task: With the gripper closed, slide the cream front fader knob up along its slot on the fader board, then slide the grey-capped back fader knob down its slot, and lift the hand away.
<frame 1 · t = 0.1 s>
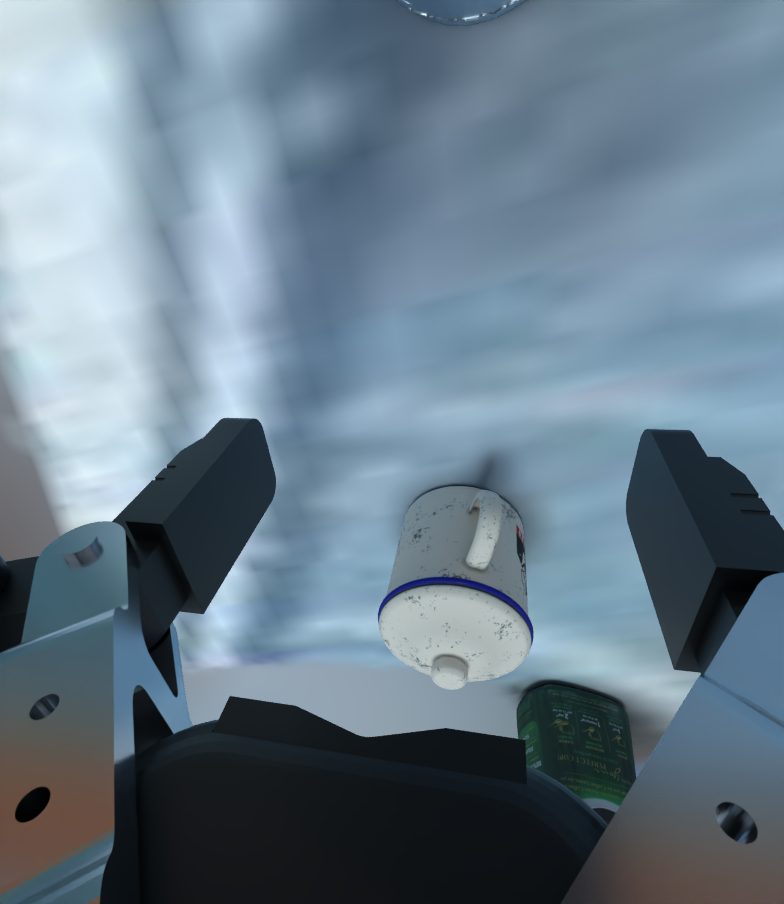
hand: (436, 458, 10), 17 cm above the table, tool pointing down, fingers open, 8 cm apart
coffee jar: (569, 704, 46), on the table
teacup with lid: (468, 513, 34), on the table
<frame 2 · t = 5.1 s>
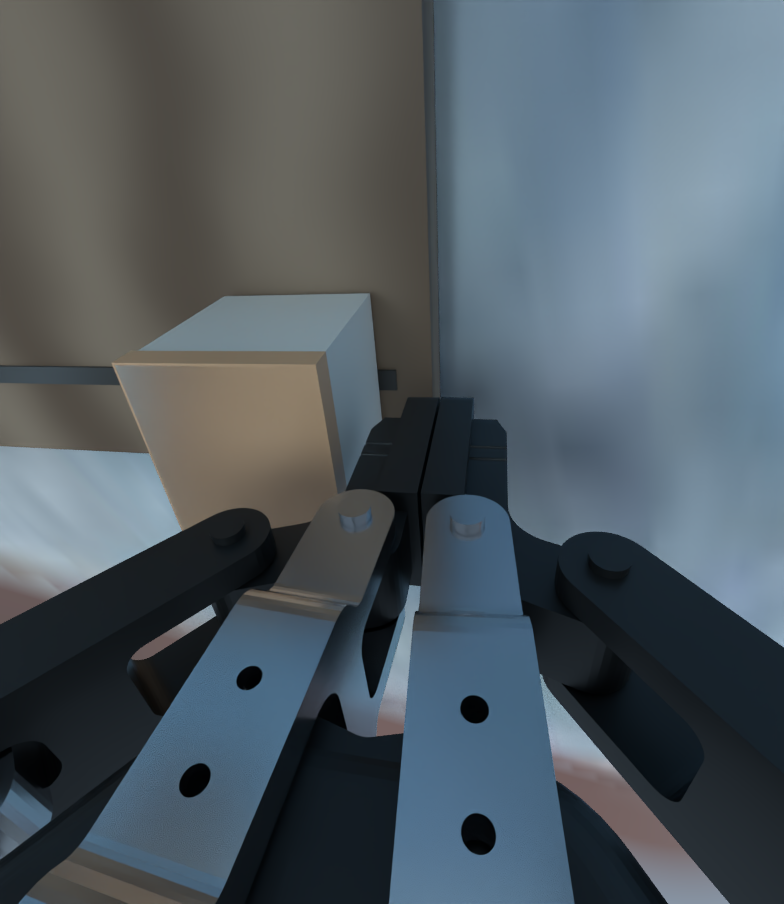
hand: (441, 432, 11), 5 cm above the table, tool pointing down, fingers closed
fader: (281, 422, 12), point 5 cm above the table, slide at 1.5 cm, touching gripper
fader board: (24, 156, 14), on the table
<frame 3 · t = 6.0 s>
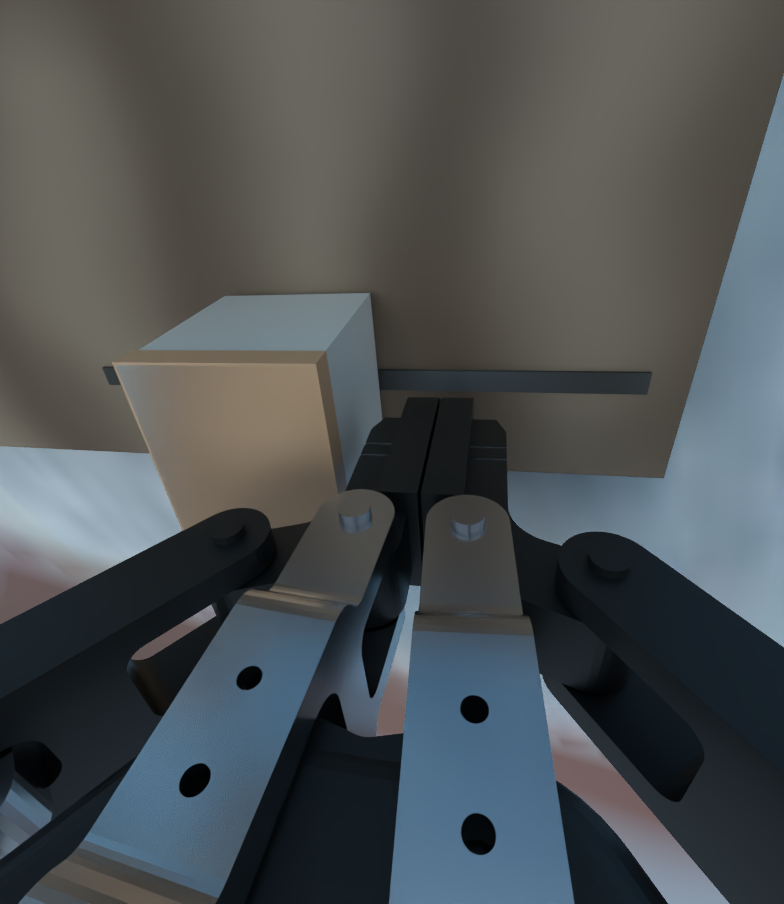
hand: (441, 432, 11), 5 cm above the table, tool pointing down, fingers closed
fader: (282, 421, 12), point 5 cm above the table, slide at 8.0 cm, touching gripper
fader board: (231, 137, 13), on the table
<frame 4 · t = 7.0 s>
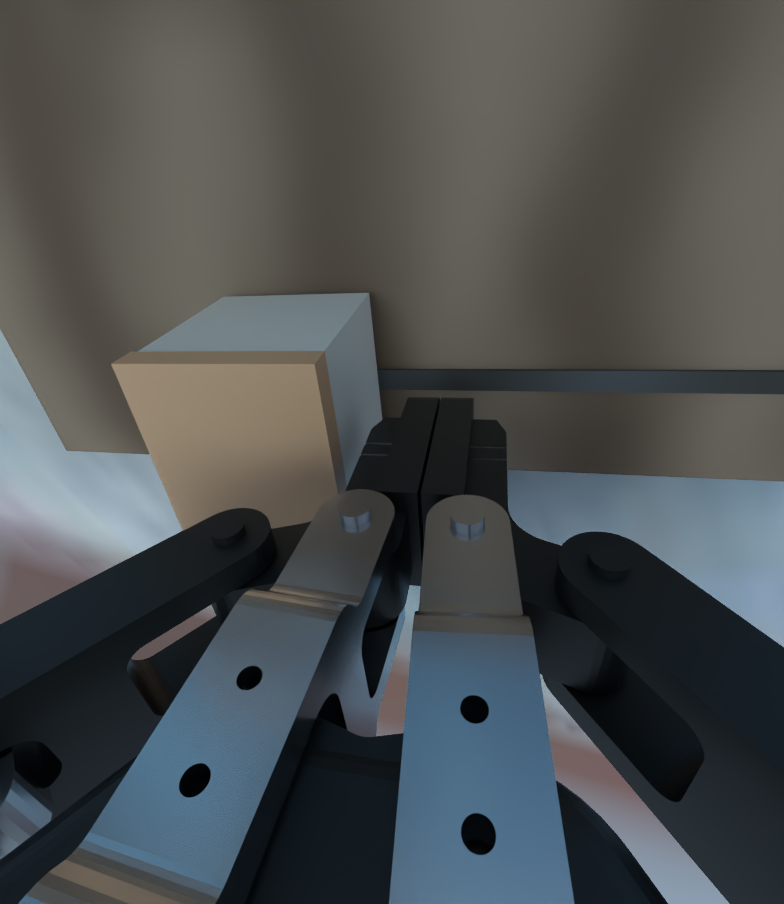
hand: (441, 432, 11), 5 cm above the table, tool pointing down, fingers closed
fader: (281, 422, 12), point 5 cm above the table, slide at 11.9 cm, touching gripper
fader board: (369, 124, 12), on the table
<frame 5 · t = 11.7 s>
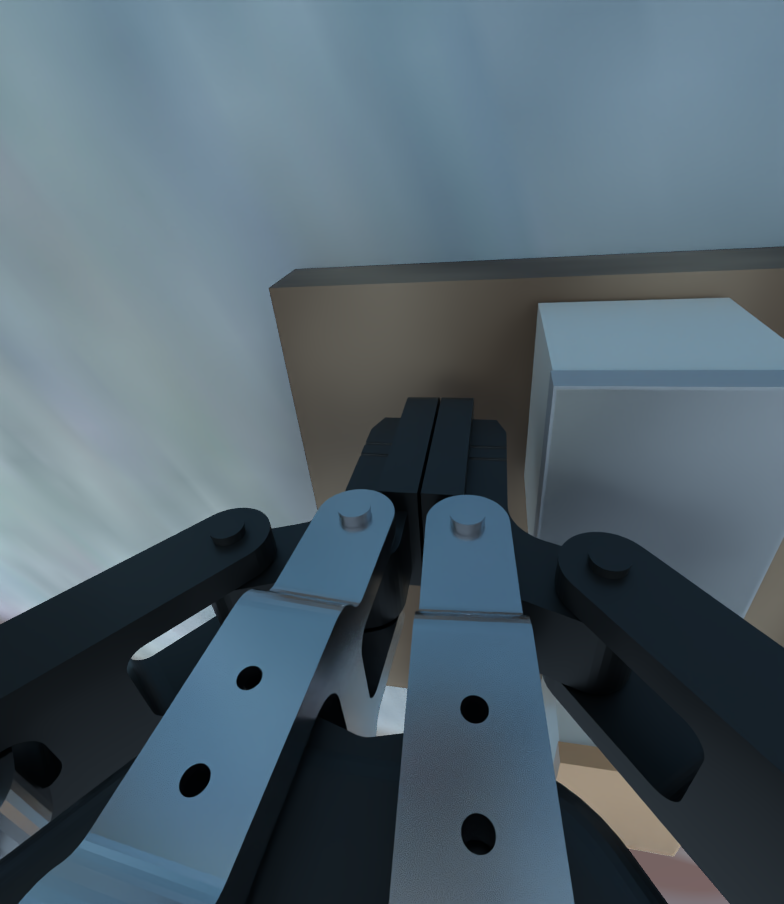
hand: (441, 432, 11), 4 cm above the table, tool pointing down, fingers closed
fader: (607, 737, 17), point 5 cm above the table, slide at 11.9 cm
fader board: (669, 523, 17), on the table
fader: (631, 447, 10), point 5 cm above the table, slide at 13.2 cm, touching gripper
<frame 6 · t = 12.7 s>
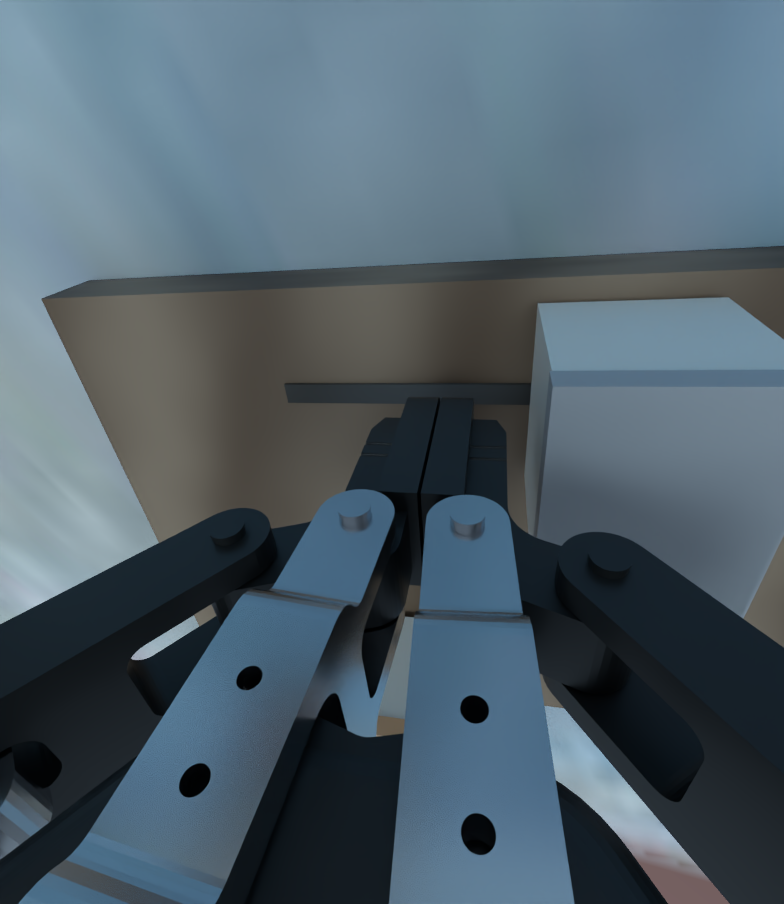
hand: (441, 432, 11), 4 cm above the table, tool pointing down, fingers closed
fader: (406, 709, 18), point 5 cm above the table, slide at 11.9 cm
fader board: (462, 511, 18), on the table
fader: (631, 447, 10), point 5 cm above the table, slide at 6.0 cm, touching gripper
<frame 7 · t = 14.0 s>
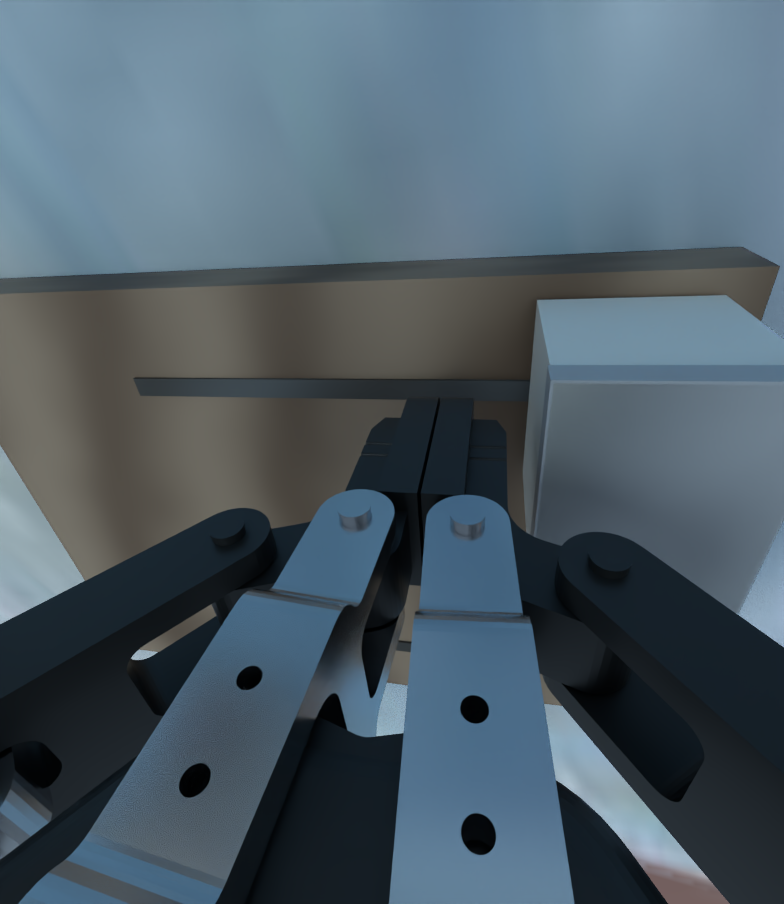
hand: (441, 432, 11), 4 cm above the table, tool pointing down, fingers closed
fader board: (333, 501, 19), on the table
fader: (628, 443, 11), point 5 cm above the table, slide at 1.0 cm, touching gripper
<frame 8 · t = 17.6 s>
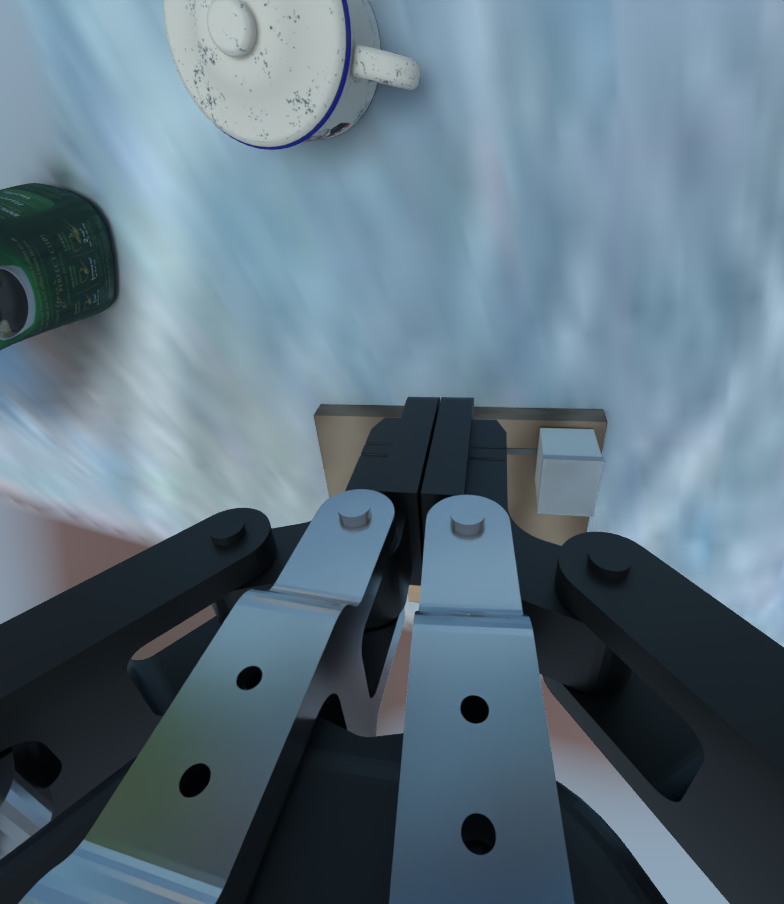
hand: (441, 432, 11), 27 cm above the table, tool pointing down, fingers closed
coffee jar: (75, 249, 40), on the table
teacup with lid: (337, 61, 30), on the table
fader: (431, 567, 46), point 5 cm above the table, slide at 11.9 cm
fader board: (454, 489, 46), on the table
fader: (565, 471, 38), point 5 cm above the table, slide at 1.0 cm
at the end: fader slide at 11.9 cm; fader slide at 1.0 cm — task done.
